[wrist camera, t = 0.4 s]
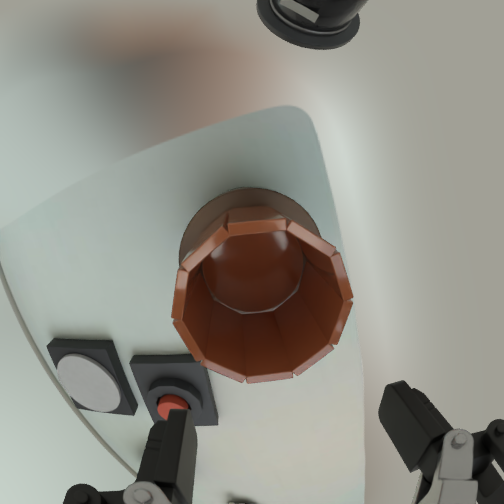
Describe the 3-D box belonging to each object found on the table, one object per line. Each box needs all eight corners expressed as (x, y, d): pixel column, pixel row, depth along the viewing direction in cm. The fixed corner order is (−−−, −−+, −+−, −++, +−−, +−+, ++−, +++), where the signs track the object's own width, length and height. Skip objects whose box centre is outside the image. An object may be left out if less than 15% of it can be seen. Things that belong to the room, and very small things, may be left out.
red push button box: (133, 355, 27) (125, 370, 24) (203, 353, 27) (201, 370, 24) (157, 416, 29) (152, 432, 26) (218, 416, 30) (217, 433, 27)
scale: (53, 338, 26) (43, 348, 24) (112, 339, 26) (104, 352, 24) (82, 399, 28) (75, 411, 26) (138, 405, 29) (133, 419, 26)
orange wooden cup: (186, 213, 14) (155, 231, 8) (307, 201, 14) (354, 212, 9) (202, 319, 16) (188, 387, 10) (311, 307, 16) (348, 368, 10)
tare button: (156, 393, 25) (153, 402, 24) (184, 394, 25) (183, 402, 24) (163, 413, 26) (161, 421, 25) (191, 414, 26) (190, 422, 25)
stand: (195, 192, 24) (169, 196, 14) (286, 183, 24) (321, 182, 14) (206, 280, 25) (191, 334, 16) (292, 271, 26) (324, 320, 16)
